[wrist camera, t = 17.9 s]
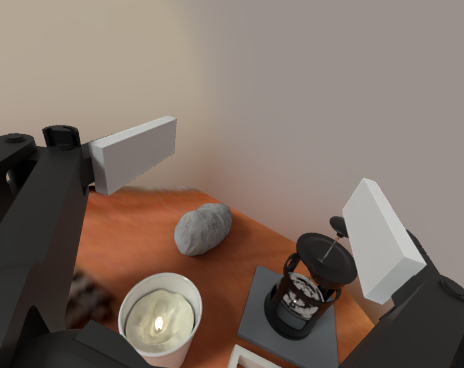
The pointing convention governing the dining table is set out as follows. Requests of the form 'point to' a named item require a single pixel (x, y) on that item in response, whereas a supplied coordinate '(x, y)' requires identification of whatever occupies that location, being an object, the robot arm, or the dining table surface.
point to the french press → (303, 289)
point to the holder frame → (248, 359)
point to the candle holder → (161, 318)
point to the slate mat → (295, 352)
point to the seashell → (203, 228)
